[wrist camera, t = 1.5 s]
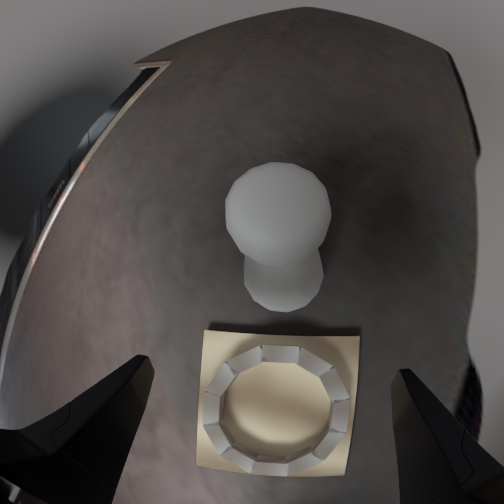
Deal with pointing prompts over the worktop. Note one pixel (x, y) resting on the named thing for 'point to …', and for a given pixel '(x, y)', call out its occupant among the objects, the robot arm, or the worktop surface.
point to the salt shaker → (279, 233)
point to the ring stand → (277, 403)
